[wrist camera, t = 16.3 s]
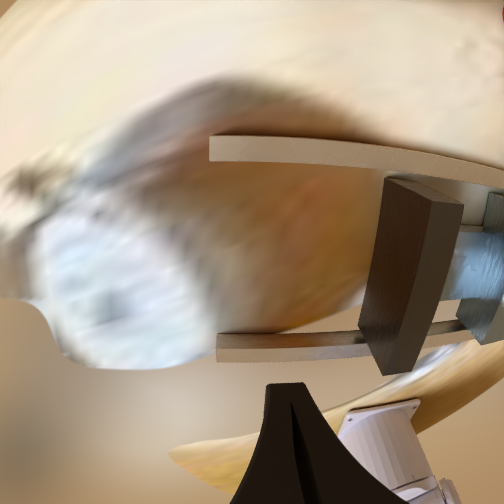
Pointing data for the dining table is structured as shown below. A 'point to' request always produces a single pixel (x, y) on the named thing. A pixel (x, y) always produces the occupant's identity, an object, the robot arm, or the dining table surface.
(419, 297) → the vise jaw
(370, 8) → the dining table surface
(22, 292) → the dining table surface
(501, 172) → the vise base
